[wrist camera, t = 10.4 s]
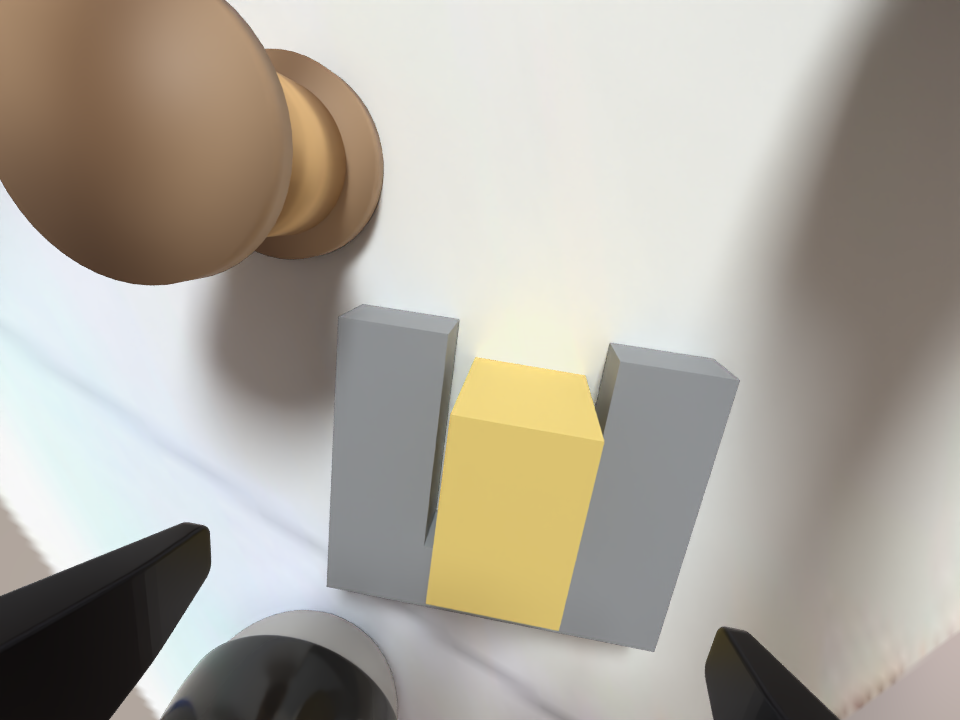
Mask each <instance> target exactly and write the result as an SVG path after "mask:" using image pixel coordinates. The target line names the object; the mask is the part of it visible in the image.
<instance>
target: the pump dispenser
mask: <svg viewBox="0 0 960 720" xmlns="http://www.w3.org/2000/svg"><path fill="white" fill-rule="evenodd" d="M160 720H398V705H397V695H396V689H395V684H394V680H393V677H392V673H391V671H390V668H389V666H388V663H387V661H386V660H385V658H384V656H383V654H382V653H381V651H380V650H379V648H378V647H377V645H376V644H375V643H374V642H373V641H372V640H371V638H370V637H369V636H368V635H366V634H365V633H364V632H363V631H362V630H361V629H359V628H358V627H357V626H355V625H354V624H352V623H350V622H348V621H347V620H345V619H343V618H340V617H338V616H335V615H332V614H329V613H325V612H320V611H312V610H295V611H288V612H283V613H279V614H275V615H272V616H269V617H267V618H264V619H262V620H260V621H258V622H256V623H254V624H252V625H250V626H249V627H247V628H245V629H244V630H242V631H241V632H239V633H238V634H237V635H235V636H234V637H233V638H232V639H230V640H229V641H228V642H226V643H224V644H222V645H220V646H218V647H216V648H215V649H213V650H212V651H210V652H209V653H208V654H207V655H206V656H204V657H203V658H202V659H201V660H200V662H199V663H198V664H197V665H196V666H195V668H194V669H193V670H192V671H191V673H190V674H189V675H188V677H187V678H186V680H185V681H184V682H183V684H182V685H181V687H180V688H179V689H178V691H177V693H176V694H175V696H174V697H173V699H172V700H171V702H170V704H169V705H168V707H167V708H166V710H165V712H164V713H163V715H162V717H161V718H160Z"/></svg>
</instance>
